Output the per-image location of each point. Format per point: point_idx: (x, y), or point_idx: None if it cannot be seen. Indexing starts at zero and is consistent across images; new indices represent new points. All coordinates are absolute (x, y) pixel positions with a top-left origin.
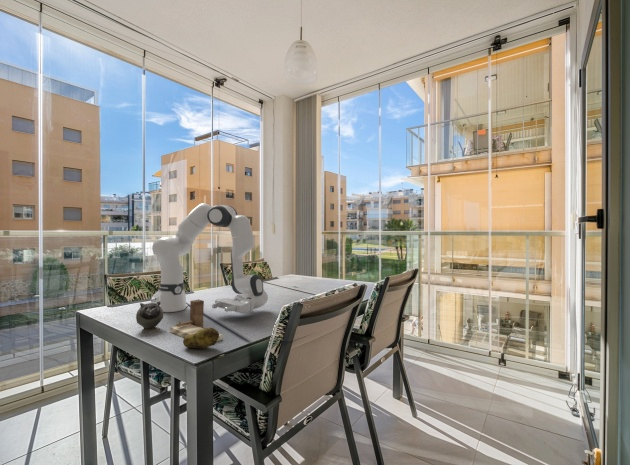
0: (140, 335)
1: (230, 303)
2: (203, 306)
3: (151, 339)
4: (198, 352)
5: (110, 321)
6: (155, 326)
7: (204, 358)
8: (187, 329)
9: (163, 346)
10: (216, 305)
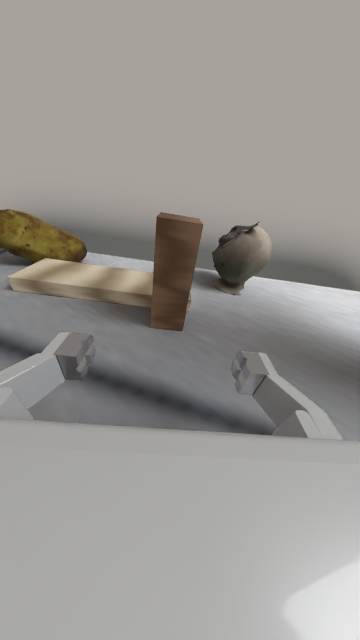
0: (207, 272)
1: (82, 424)
2: (155, 247)
3: None
4: None
5: (326, 291)
6: (223, 279)
7: None
8: (141, 278)
9: (127, 260)
10: (243, 375)
